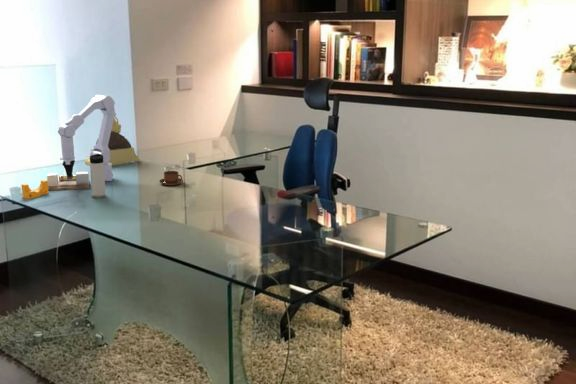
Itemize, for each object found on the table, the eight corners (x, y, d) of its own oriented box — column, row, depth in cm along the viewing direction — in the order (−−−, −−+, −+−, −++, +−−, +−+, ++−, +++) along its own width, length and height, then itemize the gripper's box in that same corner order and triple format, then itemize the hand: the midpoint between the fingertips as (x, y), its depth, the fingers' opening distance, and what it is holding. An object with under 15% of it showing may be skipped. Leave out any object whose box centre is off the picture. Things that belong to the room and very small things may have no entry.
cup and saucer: (184, 181, 339) (184, 170, 337) (181, 187, 327) (181, 175, 325) (161, 181, 338) (161, 169, 337) (157, 187, 327) (157, 175, 325)
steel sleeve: (89, 182, 329) (88, 171, 327) (88, 184, 324) (88, 173, 323) (76, 182, 327) (76, 172, 326) (76, 185, 323) (75, 174, 321)
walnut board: (89, 181, 333) (89, 179, 333) (88, 188, 320) (88, 186, 320) (46, 183, 328) (46, 181, 328) (43, 190, 315) (43, 188, 315)
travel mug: (107, 194, 311) (104, 153, 306) (103, 198, 304) (101, 156, 299) (94, 194, 311) (91, 153, 305) (90, 197, 304) (87, 156, 299)
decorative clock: (129, 157, 391) (127, 108, 383) (139, 161, 381) (137, 111, 373) (85, 163, 373) (81, 112, 365) (94, 168, 364) (91, 115, 356)
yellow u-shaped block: (27, 199, 301) (26, 186, 299) (22, 197, 303) (21, 184, 302) (50, 194, 310) (49, 181, 308) (45, 192, 312) (44, 179, 311)
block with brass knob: (87, 179, 327) (87, 167, 326) (87, 181, 324) (86, 168, 323) (59, 181, 324) (58, 168, 322) (59, 182, 321) (58, 169, 319)
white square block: (58, 183, 325) (57, 172, 323) (57, 185, 320) (56, 175, 319) (48, 183, 324) (47, 173, 322) (47, 186, 319) (46, 175, 318)
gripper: (60, 146, 325) (62, 172, 329) (58, 152, 312) (60, 179, 315) (74, 146, 327) (76, 172, 330) (73, 151, 313) (75, 178, 317)
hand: (69, 175), depth 323 cm, fingers closed on block with brass knob, 3 cm apart
